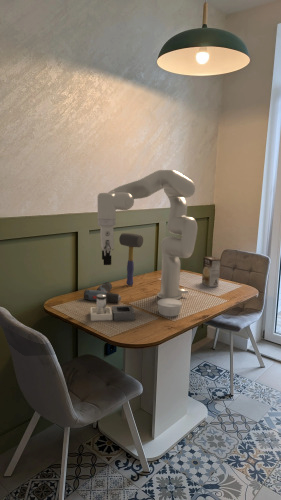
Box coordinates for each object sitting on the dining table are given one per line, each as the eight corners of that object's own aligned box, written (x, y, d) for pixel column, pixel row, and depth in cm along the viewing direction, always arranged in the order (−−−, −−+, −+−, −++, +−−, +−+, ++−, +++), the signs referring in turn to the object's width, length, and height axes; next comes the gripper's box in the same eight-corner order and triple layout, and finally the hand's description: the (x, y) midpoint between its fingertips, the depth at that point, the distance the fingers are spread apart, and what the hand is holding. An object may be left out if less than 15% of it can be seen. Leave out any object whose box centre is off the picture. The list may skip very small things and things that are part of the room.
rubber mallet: (142, 286, 204) (144, 233, 198) (135, 289, 198) (137, 235, 192) (124, 282, 210) (125, 231, 205) (117, 285, 204) (118, 232, 198)
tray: (110, 312, 161) (110, 306, 161) (112, 320, 153) (112, 314, 152) (90, 312, 160) (90, 307, 159) (91, 320, 151) (91, 314, 151)
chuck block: (131, 312, 162) (131, 305, 161) (134, 320, 153) (134, 312, 153) (111, 313, 160) (111, 306, 160) (113, 320, 152) (113, 313, 151)
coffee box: (201, 282, 215) (203, 256, 212) (210, 282, 217) (212, 256, 214) (209, 287, 207) (211, 260, 204) (219, 286, 209) (221, 259, 206)
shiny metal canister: (105, 313, 159) (105, 293, 157) (106, 316, 154) (106, 296, 153) (96, 313, 158) (96, 293, 156) (96, 317, 154) (96, 297, 152)
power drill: (130, 293, 191) (119, 305, 172) (97, 289, 195) (83, 301, 176) (130, 283, 190) (119, 295, 171) (97, 280, 194) (83, 290, 175)
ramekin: (163, 319, 156) (164, 307, 155) (152, 310, 166) (153, 299, 165) (185, 316, 161) (186, 304, 160) (173, 307, 171) (174, 297, 170)
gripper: (117, 225, 143) (117, 266, 146) (113, 220, 160) (113, 257, 163) (98, 225, 142) (98, 267, 145) (96, 220, 158) (96, 257, 162)
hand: (106, 262), depth 154 cm, fingers open, 9 cm apart
